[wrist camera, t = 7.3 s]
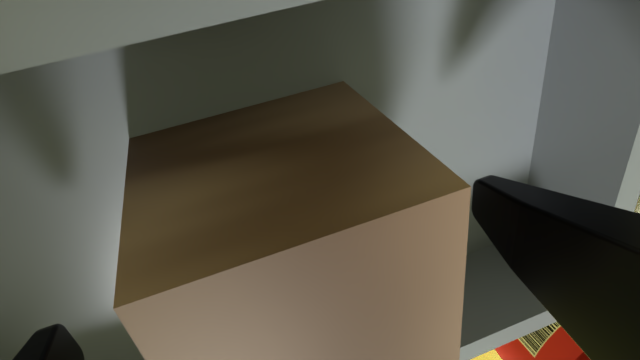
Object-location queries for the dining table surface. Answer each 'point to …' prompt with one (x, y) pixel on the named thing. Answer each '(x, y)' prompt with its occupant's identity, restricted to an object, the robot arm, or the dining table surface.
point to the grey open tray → (287, 79)
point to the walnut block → (292, 237)
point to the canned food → (543, 346)
